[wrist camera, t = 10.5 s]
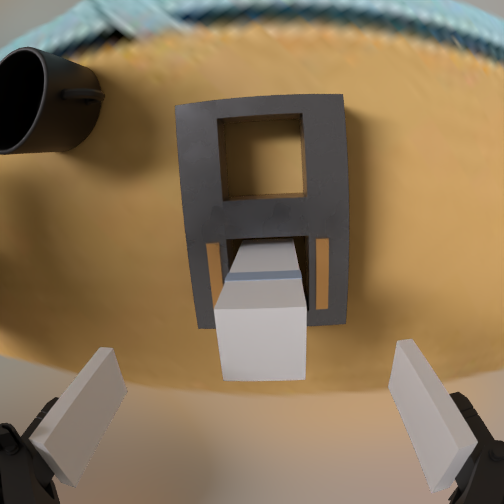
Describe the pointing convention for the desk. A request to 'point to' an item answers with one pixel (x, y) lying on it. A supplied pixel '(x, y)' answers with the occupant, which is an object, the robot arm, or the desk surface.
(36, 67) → the mug
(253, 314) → the plug
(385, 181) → the desk surface
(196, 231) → the jack panel
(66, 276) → the desk surface
